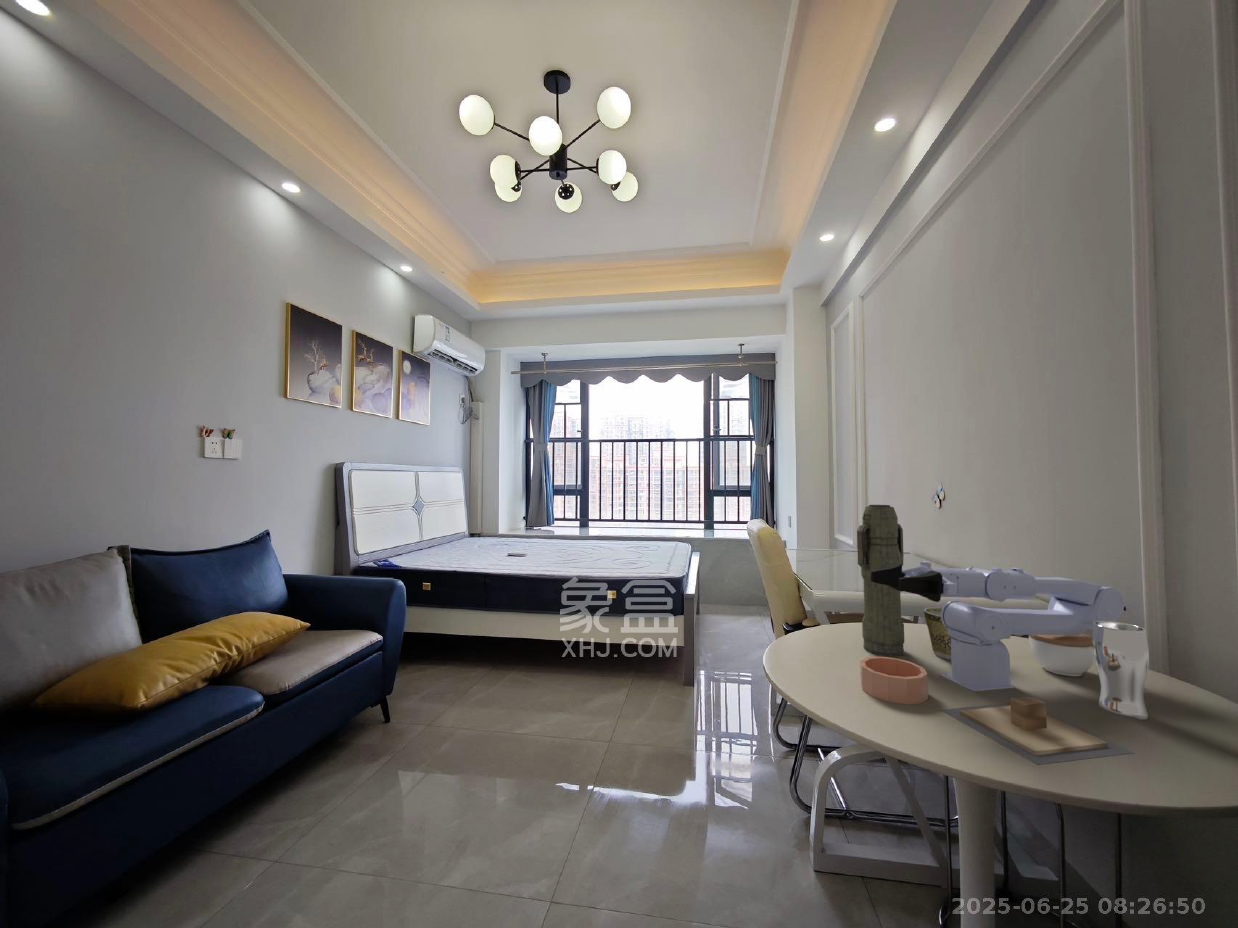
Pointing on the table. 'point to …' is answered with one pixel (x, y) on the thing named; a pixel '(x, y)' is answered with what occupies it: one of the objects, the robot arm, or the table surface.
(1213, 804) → the table surface
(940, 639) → the ceramic cup
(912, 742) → the table surface
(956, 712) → the mat
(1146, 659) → the silver metal tumbler
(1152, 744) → the table surface
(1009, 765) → the table surface
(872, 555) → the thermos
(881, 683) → the bowl
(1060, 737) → the lid
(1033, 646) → the lidded jar
